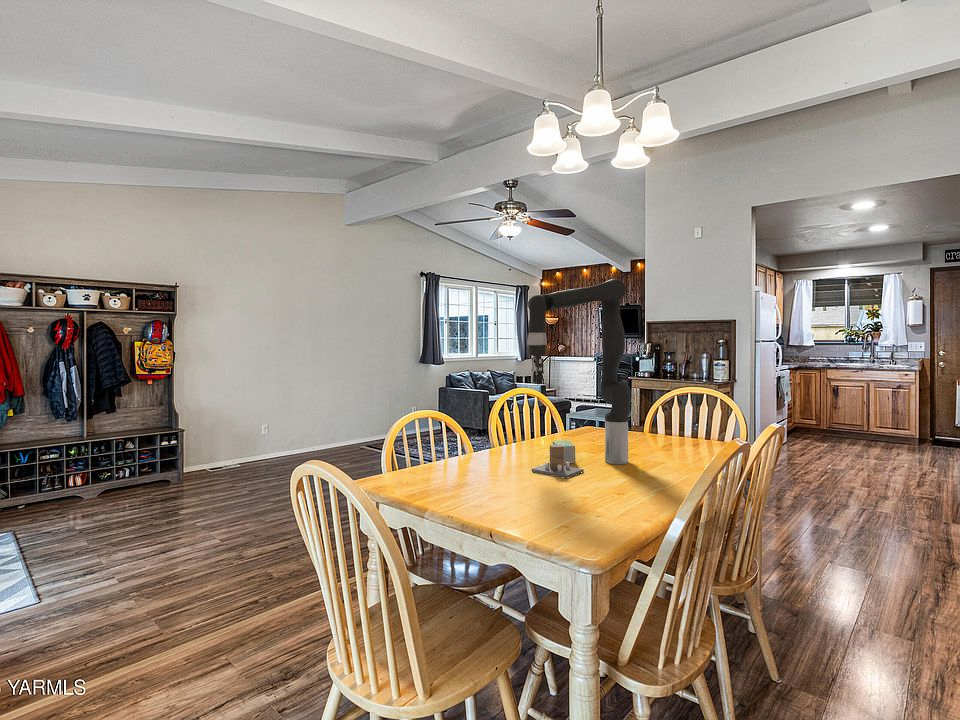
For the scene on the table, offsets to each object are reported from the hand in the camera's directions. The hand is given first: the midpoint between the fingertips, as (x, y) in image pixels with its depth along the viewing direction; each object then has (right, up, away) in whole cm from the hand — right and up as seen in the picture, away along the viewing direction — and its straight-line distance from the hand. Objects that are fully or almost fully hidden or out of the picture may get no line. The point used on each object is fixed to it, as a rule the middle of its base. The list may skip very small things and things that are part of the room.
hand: (537, 383), depth 222 cm
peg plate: (+6, -34, -13) cm, 37 cm away
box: (+12, -33, +7) cm, 36 cm away
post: (+6, -32, -13) cm, 35 cm away
